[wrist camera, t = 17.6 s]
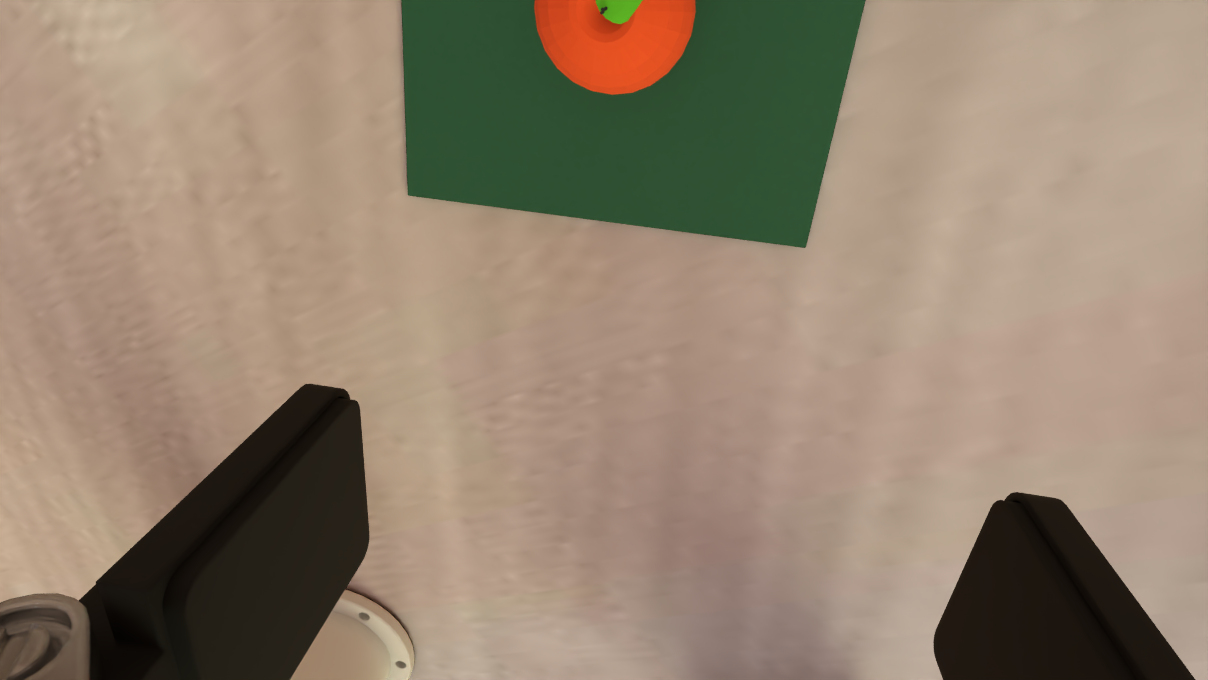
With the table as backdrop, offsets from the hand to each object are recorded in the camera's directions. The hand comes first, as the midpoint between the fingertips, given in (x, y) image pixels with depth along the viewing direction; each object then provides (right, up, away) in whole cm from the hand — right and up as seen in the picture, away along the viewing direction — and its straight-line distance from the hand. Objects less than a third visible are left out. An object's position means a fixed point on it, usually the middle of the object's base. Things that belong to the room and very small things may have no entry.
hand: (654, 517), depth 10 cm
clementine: (+1, +19, +22) cm, 29 cm away
